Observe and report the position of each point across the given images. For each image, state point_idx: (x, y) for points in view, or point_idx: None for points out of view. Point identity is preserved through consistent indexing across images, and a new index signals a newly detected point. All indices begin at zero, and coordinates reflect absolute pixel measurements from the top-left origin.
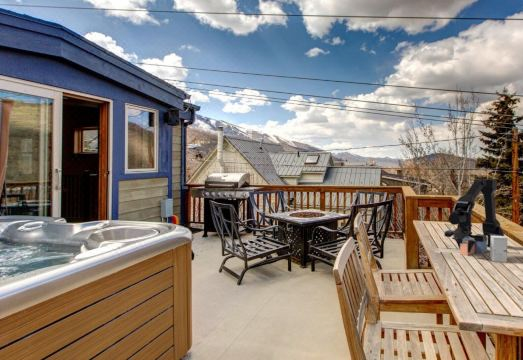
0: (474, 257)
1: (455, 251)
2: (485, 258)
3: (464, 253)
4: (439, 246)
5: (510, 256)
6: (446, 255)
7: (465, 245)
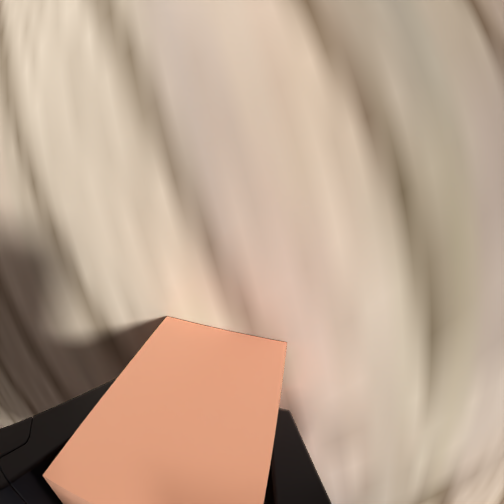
0: (72, 274)
1: (372, 451)
2: (8, 297)
3: (203, 345)
4: (496, 486)
5: (5, 426)
6: (473, 112)
7: (102, 470)
